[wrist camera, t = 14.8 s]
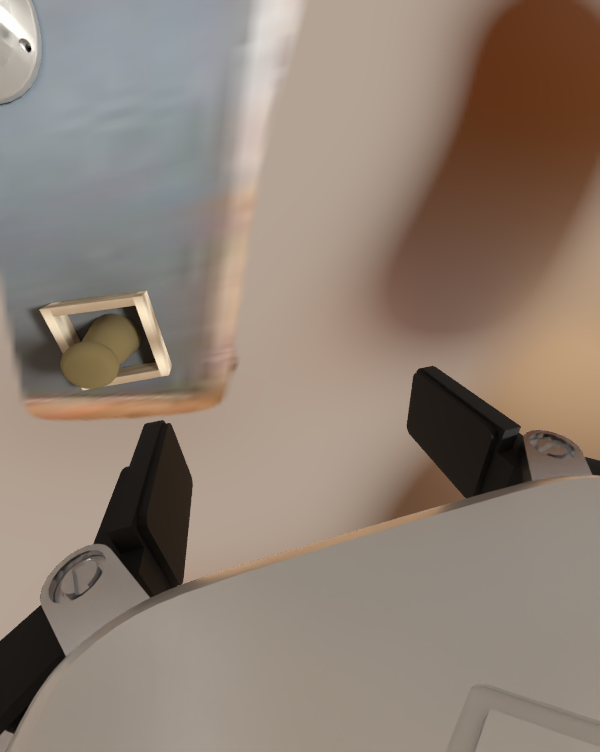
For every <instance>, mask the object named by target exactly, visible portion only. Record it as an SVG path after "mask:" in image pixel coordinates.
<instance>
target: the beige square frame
mask: <svg viewBox="0 0 600 752" xmlns="http://www.w3.org/2000/svg"><path fill="white" fill-rule="evenodd" d="M128 306H136V308H137V311H138V314H139V316H140V319H141V322H142V325H143V327H144V330H145V333H146V336H147V338H148V341H149V344H150V347H151V349H152V352H153V355H154V357H155V360H156V362H153V363H147V364H141V365H135V366H129V367H123V368H119V372H118V374H117V376H116V378H115V379H114V380H113V381H112V382H111V383H110V384H108V385H106V386H110V385H116V384H121V383H127V382H133V381H138V380H144V379H150V378H155V377H161V376H167V375H169V373H170V370H171V367H172V364H171V361H170V358H169V356H168V353H167V350H166V347H165V344H164V341H163V338H162V335H161V332H160V329H159V326H158V323H157V320H156V317H155V314H154V311H153V308H152V305H151V302H150V299H149V296H148V293H147V291H140V292H132V293H125V294H117V295H109V296H101V297H94V298H86V299H78V300H70V301H62V302H55V303H51V304H49V305H47V306H45V307H43V308H41V309H39V310H40V312H41V314H42V316H43V317H44V319H45V321H46V323H47V325H48V327H49V329H50V331H51V332H52V334H53V336H54V338H55V340H56V342H57V344H58V345H59V347H60V349H61V351H62V353H63V354H64V353H65V351H66V350H67V349H68V348H69V347H71V346H73V345H75V344H77V343H80V342H81V341H80V339H79V337H78V335H77V333H76V331H75V329H74V327H73V325H72V323H71V321H70V319H69V317H68V315H69V314H76V313H84V312H91V311H99V310H106V309H113V308H121V307H128ZM82 390H87V389H85V388H82Z"/></svg>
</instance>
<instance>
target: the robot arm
mask: <svg viewBox="0 0 600 752" xmlns="http://www.w3.org/2000/svg"><path fill="white" fill-rule="evenodd" d="M28 47H31V52H28ZM41 55H42V41H41V33H40V26H39V22H38V19H37V15H36V12H35V8H34V5H33V3H32V0H0V104H2V103H7V102H11V101H13V100H15V99H17V98H19V97H21V96H22V95H24V94H25V93H26V92H27V91H28V90H29V89H30V88H31V86H32V85H33V83H34V81H35V79H36V77H37V75H38V72H39V68H40V64H41ZM520 428H521V426H519V425H518V424H516V423H515V422H514V421H512V420H511V419H509V418H508V417H506V416H505V415H504V414H502V413H500V412H499V411H498V410H496V409H495V408H494V407H492V406H491V405H489V404H488V403H486V402H485V401H484V400H482V399H481V398H479V397H478V396H476V395H475V394H473V393H472V392H471V391H469V390H467V389H466V388H465V387H463V386H462V385H460V384H459V383H458V382H456V381H455V380H453V379H452V378H451V377H449V376H448V375H446V374H445V373H443V372H442V371H441V370H439V369H438V368H436V367H434V366H430V367H425V368H420V369H418V370H417V373H415V374H414V376H413V383H412V390H411V398H410V405H409V413H408V420H407V429H408V432H409V434H410V435H411V436H412V437H413V439H414V440H415V441H416V442H417V443H418V444H419V445H420V447H421V448H422V449H423V450H424V451H425V452H426V453H427V454H428V456H429V457H430V458H431V459H432V460H433V461H434V462H435V464H436V465H437V466H438V467H439V468H440V469H441V470H442V472H443V473H444V474H445V475H446V476H447V477H448V479H449V480H450V481H451V482H452V483H453V484H454V485H455V487H456V488H457V489H458V490H459V491H460V492H461V493H462V494H463V496H464V497H465V498H467V499H463V500H460V501H457V502H453V503H449V504H446V505H442V506H439V507H435V508H432V509H428V510H425V511H421V512H418V513H414V514H411V515H408V516H404V517H401V518H397V519H394V520H390V521H387V522H384V523H380V524H377V525H373V526H370V527H367V528H363V529H360V530H356V531H353V532H350V533H346V534H343V535H339V536H336V537H333V538H329V539H326V540H323V541H319V542H316V543H313V544H309V545H306V546H302V547H299V548H296V549H293V550H289V551H286V552H282V553H279V554H276V555H272V556H269V557H266V558H262V559H259V560H256V561H252V562H249V563H246V564H243V565H240V566H237V567H234V568H231V569H228V570H224V571H221V572H218V573H215V574H212V575H208V576H206V577H202V578H200V579H197V580H193V581H191V582H188V583H185V584H183V585H181V584H182V583H183V578H184V568H185V558H186V547H187V537H188V528H189V517H190V507H191V496H192V486H193V485H192V477H191V474H190V472H189V469H188V466H187V464H186V461H185V459H184V456H183V454H182V451H181V448H180V446H179V443H178V440H177V438H176V435H175V432H174V430H173V428H172V425H171V424H170V423H167V424H166V423H165V422H164V421H163V420H161V421H157V422H151V423H147V424H145V425H144V427H143V430H142V433H141V435H140V438H139V441H138V444H137V447H136V449H135V452H134V455H133V458H132V461H131V463H130V466H129V467H125V468H124V469H123V470H122V471H121V473H120V476H119V479H118V481H117V484H116V486H115V489H114V492H113V494H112V497H111V499H110V502H109V505H108V507H107V510H106V513H105V515H104V518H103V520H102V523H101V526H100V528H99V531H98V533H97V536H96V539H95V541H94V544H93V545H88V546H85V547H83V548H81V549H79V550H77V551H75V552H74V553H72V554H70V555H69V556H67V557H66V558H65V559H64V560H63V561H62V562H61V563H59V564H58V565H57V566H56V568H55V569H54V570H53V571H52V572H51V573H50V575H49V576H48V577H47V579H46V581H45V583H44V585H43V587H42V590H41V594H40V601H41V605H40V606H39V607H38V608H37V609H36V610H35V611H34V612H32V613H31V614H30V615H29V616H28V617H27V618H26V619H25V620H23V621H22V622H21V623H20V624H19V625H18V626H17V627H16V628H14V629H13V630H12V631H11V632H10V633H9V634H8V635H7V636H5V637H4V638H3V639H2V640H1V641H0V752H600V461H598V460H595V459H591V458H587V457H584V455H583V452H582V451H581V449H580V448H579V446H577V445H576V444H575V443H574V442H573V441H571V440H570V439H568V438H566V437H564V436H562V435H559V434H557V433H554V432H550V431H545V430H544V431H543V430H531V431H529V432H526V434H524V436H523V435H521V434H520V433H519V430H520ZM178 585H180V586H178Z"/></svg>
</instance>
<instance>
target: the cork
mask: <svg viewBox="0 0 600 752" xmlns="http://www.w3.org/2000/svg"><path fill="white" fill-rule="evenodd" d="M140 344H141V333H140V330H139V328H138V327H137V326H136V324H135V323H134V322H133V321H131V320H130V319H128V318H127V317H124V316H122V315H118V314H105V315H102V316H100V317H98V318H97V319H96V320H95V321H94V322H93V323H92V325H91V327H90V328H89V330H88V332H87V333H86V335H85V337H84V338H83V340H82V342H80V343H77V344H75V345H73V346H71V347H69V348H68V349H67V350H66V351H65V353H64V354H63V356H62V359H61V362H60V366H61V371H62V372H63V374H64V376H65V378H66V379H67V380H68V381H70V382H71V383H72V384H74V385H76V386H78V387H81V388H85V389H97V388H102V387H104V386H106V385H108V384H110V383H111V382H112V381H113V380H114V379H115V378H116V376H117V374H118V372H119V365H120V364H121V363H123V362H124V361H125V360H126V359H127V358H128V357H129V356H131V355H132V354H133V353H134V352H135V351H136V350H137V349H138V348H139V347H140Z"/></svg>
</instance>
